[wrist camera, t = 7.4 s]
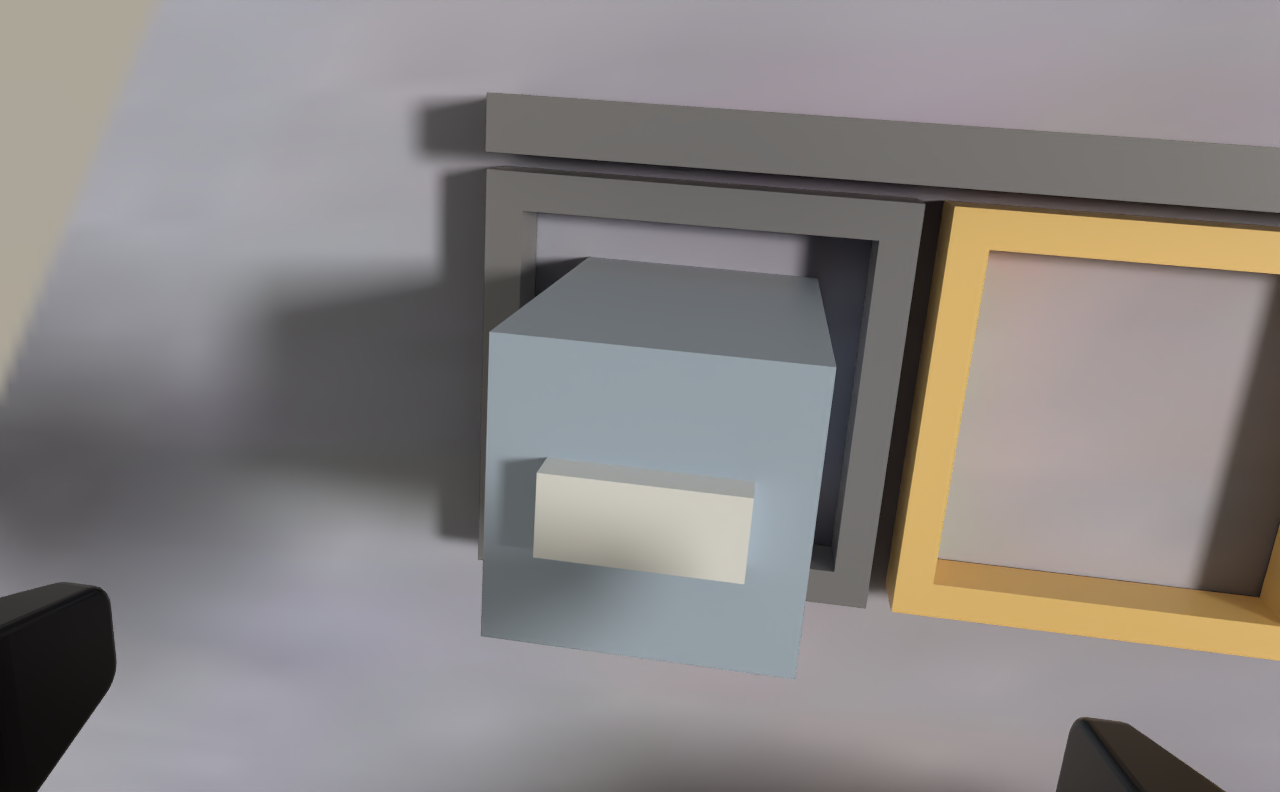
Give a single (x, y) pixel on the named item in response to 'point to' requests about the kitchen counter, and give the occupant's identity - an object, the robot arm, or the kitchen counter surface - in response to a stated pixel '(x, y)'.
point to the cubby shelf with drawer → (907, 306)
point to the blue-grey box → (657, 464)
